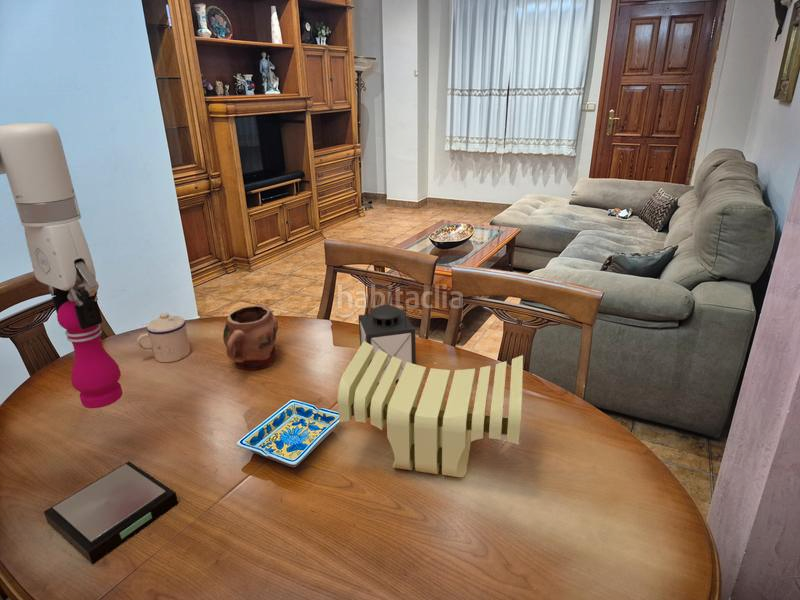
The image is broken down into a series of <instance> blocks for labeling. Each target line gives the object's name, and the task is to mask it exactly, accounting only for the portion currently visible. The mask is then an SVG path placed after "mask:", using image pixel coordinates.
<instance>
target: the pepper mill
mask: <svg viewBox="0 0 800 600" xmlns="http://www.w3.org/2000/svg"><path fill="white" fill-rule="evenodd" d="M79 294H80V295H81V292H79ZM67 297H68V299H69V300H70V301H67V302H65V303H64V304H63V305H61V306H60V308H59V310H58V312H56V319H57V322H58V325H59V326H60V327H61V328H62V329H64V330H65V332H64V333H65V336H66V340H67V341H68V342H69V343H71V344H72V347H73V350H74V358H73V359H74V360H73V365H72V368H71V374H70V376H71V377H70V379H71V385H72V387H73V389H75V390H76V391H77V392H79V399H80V403H81V405H82V406H83V407H84V408H86V409H100V408H104V407H107V406H110V405H112V404H115V403H116V402H117V401H118V400H120V399H121V397H122V396H123V388H122V385H121V383H120V382H119V381H120V379H121V374H122V373H121V370H120V367H119V364H118V363H117V361H116V360H115V359H114V358H113V357H112V356H111V355H110V354H109V353H108V352H107V351H106V349H105V347H104V346H103V344H102V339H101V335H102V334H103V329H101V327H102V326H101V323H100V324H98V325H95V326H92V327H90V328H87V329H82V328H80V325H79V322H78V318H77V315H76V311H75V307H74V306H75V305H77V304H76V302H75V300H74V298H73V296H72V293H71V291H69V293H68V296H67ZM99 310H100V314H101V315H102V313H101V308H99Z"/></svg>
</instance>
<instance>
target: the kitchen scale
mask: <svg viewBox="0 0 800 600" xmlns="http://www.w3.org/2000/svg"><path fill="white" fill-rule="evenodd" d="M178 504H179V501H178V497H177V493H176V491H174V490H173V489H171V488H169V487H168V486H167V485H166V484H164V483H163V482H161V481H159V480H158V479H156V478H155V477H154V476H152V475H150V474H149V473H147V472H146V471H144V470H143V469H141V468H140V467H138V466H137V465H136V464H134V463H132V462H131V461H127V462H125V463H123V464H121V465H120V466H118V467H116V468H115V469H113V470H111V471H110V472H108V473H107V474H105V475H103V476H101V477H100V478H98V479H96V480H95V481H93V482H91V483H90V484H88V485H86V486H84V487H82V488H81V489H79V490H78V491H76V492H74V493H73V494H70V495H69V496H68V497H66V498H64V499H62V500H61V501H59V502H57V503H56V504H53V506H50V507H49V508H47V509H46V510H44V511H43V515H44V517H45V519H46V522H47V524H48V525H49V526H51V528H53V529H54V531H56V533H58V534H59V535H60V536H61V537H62V538H64V540H66V541H67V543H69V544H70V545H71V546H72V547H73V548H74V549H75V550H77V552H78V553H80V555H82V556H83V557H84V558H85V559H86V560H87V561H89V563H90V564H91V565H94V564H95V563H97V562H98V561H100V560H101V559H102V558H104V557H105V556H107V555H108V554H109V553H111V552H112V551H113V550H115V549H116V548H118V547H119V546H121V545H122V544H124V543H125V542H127V540H129V539H130V538H132V537H133V536H135V535H136V534H137V533H139V532H140V531H142V530H143V529H145V528H146V527H147V526H149V525H150V524H152V523H153V522H155V521H156V520H157V519H158V518H160V517H161V516H163V515H164V514H165V513H167V512H169V511H170V510H172V509H173V508H174V507H176V506H177V505H178Z"/></svg>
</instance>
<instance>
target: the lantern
mask: <svg viewBox="0 0 800 600" xmlns="http://www.w3.org/2000/svg"><path fill="white" fill-rule="evenodd" d="M377 262H381V263H382V262H383V263H386V264H388V265H391V266H392V267H393V268H394V269H395V270H396V271H397V272H398V274H399V277H400V279H401V283H402V287H403V289H402V290H403V298H404V302H403V303H404V309H399V307H397V306H394V305H390V304H381V305H378V306H376V307H374V308H373V309H371V310H370V312H369V308H368V297H367V273H368V270H369V268H370V267H371V265H372V264H374V263H377ZM405 289H406V288H405V284H404V279H403V277H402V274H401V272H400V270H399V269H398V268H397V267H396V266H395V265H394V264H393V263H390V261H389V262H388V261H386V260H374V261H373V262H371V263H370V264H369V265H368V266H367V268H366V271H365V275H364V293H365V294H364V295H365V303H366V314H358V315H357V316H358V332H359V345H360V346H361V345H362V343H363V342H364V341H365V342H367V343H369V344H370V345H372V346H374V355H373V357H372V359H373V358H374V356H375V354H376V352H377V351H378V349H379V350H381V351H383V352H385V353H387V354H388V361H387V363H386V365H385V368H384V370H383V372H382V374H381V377H380V379H379V382H378V385H379V383H380V381H381V379H382V377H383V374H384V372H385V370H386V368H387V366H388V364H389V362H390V360H391V358H392V356H394V357H396V358H398V359H401V360H402V367H401V370H400V372H399V375H398V377H397V380H396V382H395V384H397V383H398V381H399V379H400V377H401V374H402V372H403V370H404V367H405V365H406V363H407V362H409V363H412V364H415V365H417V364H416V362H417V361H416V360H417V359H416V328H415V327H414V326H413V324H412V323H411V321H410V320H409V318H408V316H407V308H406V307H407V305H406V290H405ZM360 346H359V347H360ZM372 359H371V361H372ZM371 361H370V363H371ZM370 363H369V365H370ZM369 365H368V367H369ZM368 367H367V368H368ZM366 370H367V369H366ZM365 372H366V371H365ZM378 385H377V387H378Z"/></svg>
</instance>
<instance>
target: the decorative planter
mask: <svg viewBox="0 0 800 600" xmlns="http://www.w3.org/2000/svg"><path fill="white" fill-rule="evenodd" d="M225 322H226V323H225V326H224V328H223V332H222V333H223V334H222V335H223V336H222V338H223V343H224V345H225V348H226V355H227V357H228V358H229V359H230V360H231V361H232V362H233V363H234V365H235V366H236V367H237V368H238V369H241V370H245V371H256V370H262V369H265V368H267V367H268V366H270V365H272V364H273V362H274V361H275V359H276V358H277V352H276V347H275V346H276V345H275V342H276V339H277V333H278V331H279V320H278V318H277V317H276V316H275V315H274V314H273V312H272V311H271V309H270V307H269V306H268V305H265V304H254V305H250V306H249V305H247V306H243V307H239V309H236V310H235V311H233V312H231V313H230V314H229V315H228V316H227V318H226V321H225Z"/></svg>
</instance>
